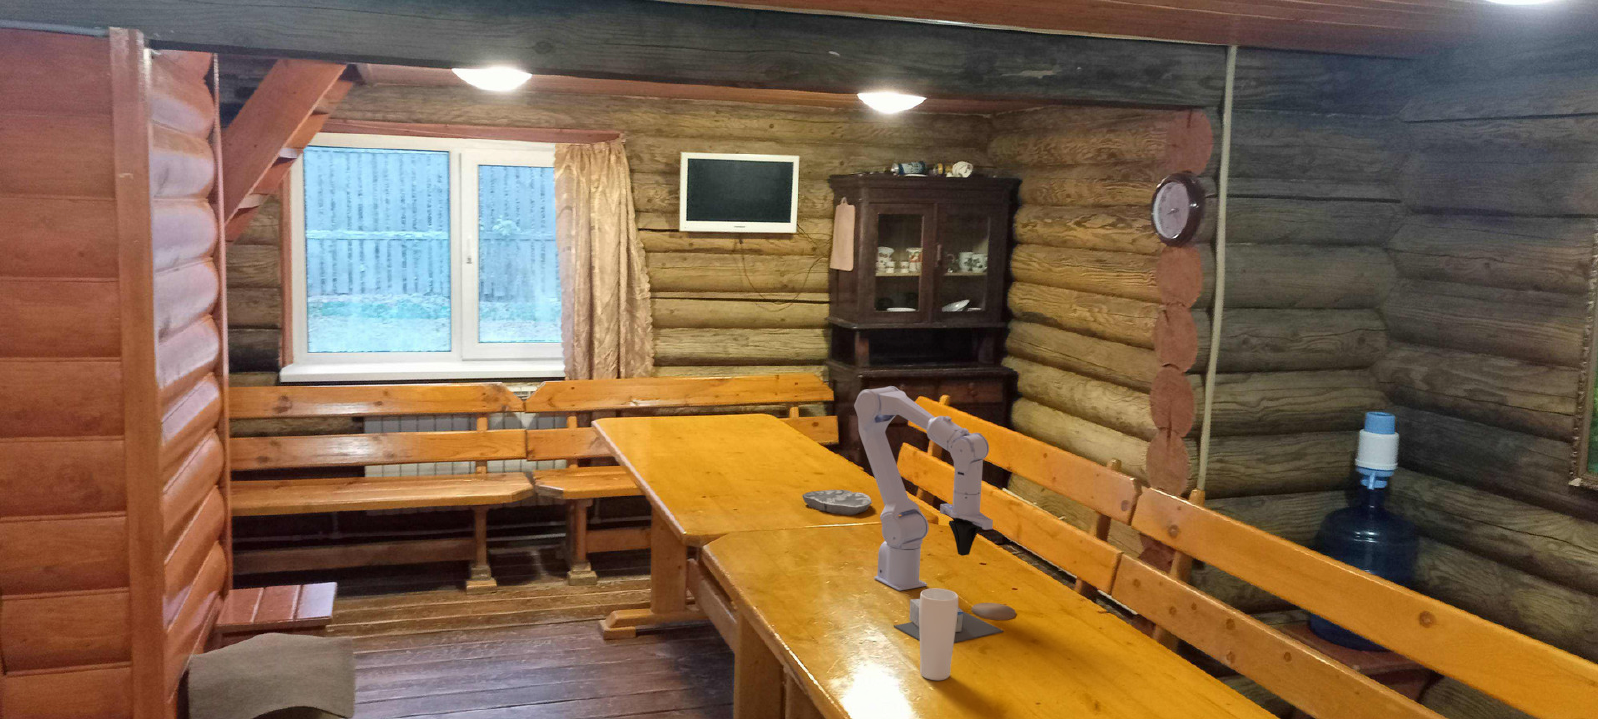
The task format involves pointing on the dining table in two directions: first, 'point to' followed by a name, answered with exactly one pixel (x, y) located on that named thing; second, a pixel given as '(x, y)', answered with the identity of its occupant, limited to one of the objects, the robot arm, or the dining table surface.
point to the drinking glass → (937, 632)
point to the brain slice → (838, 501)
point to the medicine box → (915, 614)
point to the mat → (970, 630)
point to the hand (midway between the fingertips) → (963, 554)
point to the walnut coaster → (993, 611)
